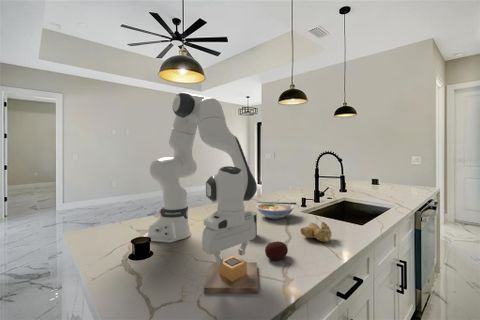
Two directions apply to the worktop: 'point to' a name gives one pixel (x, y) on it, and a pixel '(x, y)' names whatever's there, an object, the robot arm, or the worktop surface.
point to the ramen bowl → (275, 209)
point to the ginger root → (317, 232)
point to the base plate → (224, 285)
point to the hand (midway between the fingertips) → (231, 258)
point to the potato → (276, 250)
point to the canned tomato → (254, 220)
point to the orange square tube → (233, 269)
